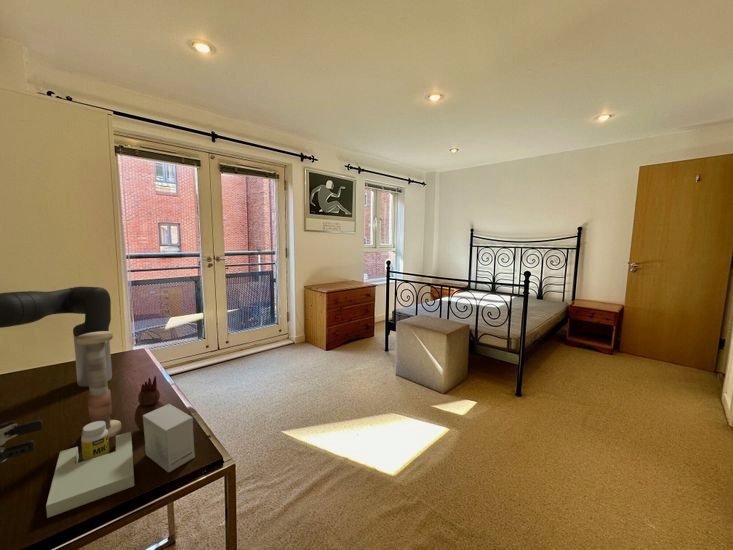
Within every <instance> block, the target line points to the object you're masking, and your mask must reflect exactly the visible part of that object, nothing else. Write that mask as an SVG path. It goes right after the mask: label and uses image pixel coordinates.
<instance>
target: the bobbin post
mask: <svg viewBox="0 0 733 550" xmlns="http://www.w3.org/2000/svg"><path fill="white" fill-rule="evenodd" d="M113 338H114V336H113V332H112V331H110V330H109V331H99V332H91V333H86V334H82V335H79V336H77V337H76V343H77V344H79V345H86V353H87V366H88V378H89V386H88V388H89V390H88V391H89V393H88V394H87V396H86V397H87V408H88V419H89V420H90V421H91V423H92V422H96V421H104V422H105V423H106V429H107V430H108V437H109V439H111V438H113V437H116V436H117V434H119V433H120V432H121V431H122V423H121V421H120V420H117V419H111V415H112V414H113V405H112V392H111V389H110V388H109V386H108V381H107V369H106V355H105V342H106V341H109V340H110V341H112V340H113ZM80 436H81V438H82V436H83V431H82V432H81V435H80Z"/></svg>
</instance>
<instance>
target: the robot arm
mask: <svg viewBox="0 0 733 550" xmlns="http://www.w3.org/2000/svg"><path fill="white" fill-rule="evenodd" d="M111 307H112V302H111V295H110V293H109V291H108V290H107V289H106V288H104V287H99V286H73V287H69V288H65V289H58V290H52V291H40V290H39V291H38V290H33V291H31V290H29V291H10V292H0V329H1V328H10V327H16V326H22V325H29V324H30V323H31V324H32V323H34V322H38V321H40V320H42V319H44V318H45V317H46V318H47V316H52V315H60V314H79V315H84V322H83V323H80V324H77V325H75V326H74V327H73V329H72V335H73V345H74V346H73V347H74V354H75V355H74V357H75V369H76V370H75V371H76V381H77V386H79V387H82V388H83V387H89V378H88V366H87V353H86V345H79V344H77V343H76V337H77V336H79V335H82V334H86V333H91V332H99V331H109V332H110V330H109V327H110V324H111V322H112V321H111V320H112V315H111V314H112V312H111V311H112V309H111ZM105 355H106V369H107V382H109V381H111V380H112V378H113V369H112V358H111V357H112V355H111V340H109V341H106V342H105ZM42 429H43V420H41V419H37V420H33V421H28V422H24V423H21V424H18V423H16V420H9V421H6V422H2V423H0V464H2V463H4V462H5V461H8V459H10V458H15V457H18V456H21V455H26V454H29V453H31V452H33V451H34V450H35V448H36V447H35V441H34V440H33V439H30V440H26V441H23V442H19V443H15V444H11V445H7V446H6V447H5V446H4V447H2V446H3V445H4V444H5V443H6V442H7V441H9V440H11V439H14V438H15V437H17V436H18V437H19V436H22V435H27V434H30V433H31V434H32V433H34V432H38V431H42Z"/></svg>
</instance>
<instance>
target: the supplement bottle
mask: <svg viewBox="0 0 733 550" xmlns="http://www.w3.org/2000/svg"><path fill="white" fill-rule="evenodd" d="M82 432H83V436H82V437H81V439H80V442H81V455H82V462H83V461H86V460H89V459H93V458H96V457H99V456H102V455H106V454H109V453H110V441H109V439H110V438H109V437H108V430H107V429H106V423H105V422H104V421H96V422H92V421H91V422H90V423H88V424H86V425H84V426H83V427H82Z"/></svg>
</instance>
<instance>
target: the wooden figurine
mask: <svg viewBox="0 0 733 550" xmlns="http://www.w3.org/2000/svg"><path fill="white" fill-rule="evenodd" d="M157 383H158V382H157V376H156V375H155V376H154V377H153V381H152V380H151V377H148V381H144V383H143V384H141V388H140V392H139V393H138V397H137V400H138V403H139V405H137V407H136V409H135V412H134V422H135V425H136V428H138V429H139V431H140V432H142V433H144V424H143V415H145V414H147V413H149V412H151V411H154V410H156V409H158V408H161V407H163V406H165V405H164V404H163V403H162V402H161V401H160V396H161V394H160V391H159V389H158V386H157V385H158V384H157Z"/></svg>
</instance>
